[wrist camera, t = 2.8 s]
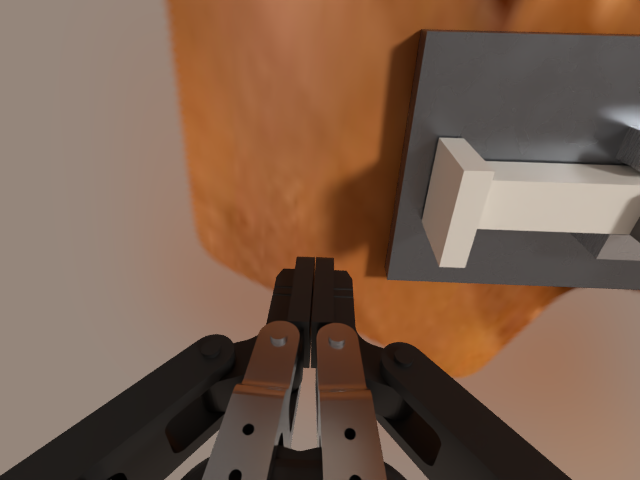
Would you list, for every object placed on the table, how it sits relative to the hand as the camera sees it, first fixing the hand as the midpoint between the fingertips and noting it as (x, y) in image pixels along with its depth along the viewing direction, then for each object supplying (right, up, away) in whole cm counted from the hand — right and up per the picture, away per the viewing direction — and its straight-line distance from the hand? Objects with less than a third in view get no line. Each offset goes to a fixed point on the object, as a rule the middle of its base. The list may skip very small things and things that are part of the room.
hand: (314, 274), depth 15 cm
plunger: (+14, +5, +7) cm, 16 cm away
